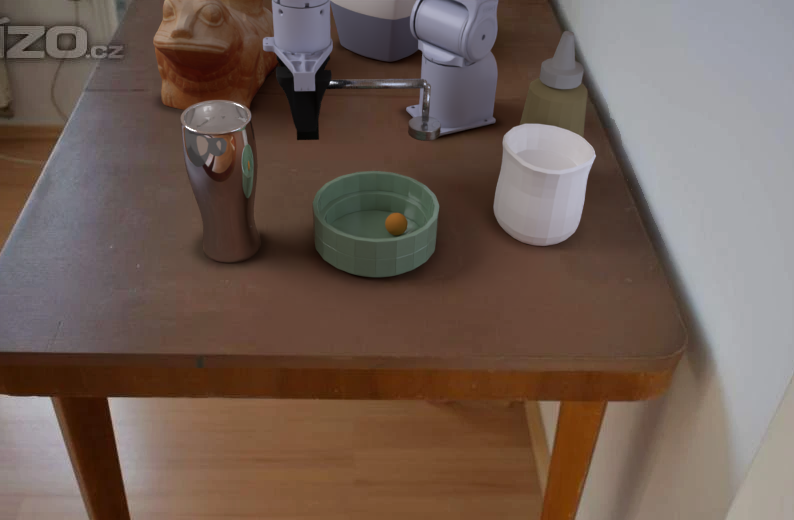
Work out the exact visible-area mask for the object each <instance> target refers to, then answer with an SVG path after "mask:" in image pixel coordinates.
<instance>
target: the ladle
mask: <svg viewBox="0 0 794 520" xmlns="http://www.w3.org/2000/svg"><path fill="white" fill-rule="evenodd" d="M420 88H424V89H423V104H422V116H417V117H414V118H413V117H412V118H410V119H409V120H408V125H407V126H408V130H407V133H408V135H409V136H410V137H411V138H412V139H413V140H417V141H423V142H428V141H429V142H430V141H434V140H437V139H438V138H440V137H441V136H440V130H441V123H440V121H439V120H437V119H436V118H433V117H429V109H430V95H431V85H430V84H429V83H428V82H427V80H425V79H421V78H358V79H357V78H356V79H355V78H354V79H352V78H350V79H349V78H347V79H346V78H345V79H343V78H342V79H339V78H338V79H336V78H335V79H331V81H330V84H329V86H328V87H327V89H326V90H401V89H402V90H404V89H405V90H407V89H408V90H409V89H411V90H412V89H419V90H420ZM319 119H320V118H319ZM319 119H318V124H317V128H316V131H314V132H297V131H296V140H297V141H319V140H320V123H319V122H320V121H319Z"/></svg>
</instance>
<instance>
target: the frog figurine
mask: <svg viewBox="0 0 794 520" xmlns="http://www.w3.org/2000/svg"><path fill="white" fill-rule="evenodd" d="M266 37H274V27H273V12H272V11H270V10H269V9H268V8H266V7H265V6H264V0H164V1H163V6H162V21H161V23H160V25H159V27H158V29H157V31H156V33H155V34H154V36H153V39H152V40H153V46H154V53H155V59H156V62H157V69H158V73H159V76H160V78H161V91H160V94H161V102H162V104H163V105H164V106H166V107H169V108H175V109H178V110H182V111H184V110H186V109H187V108H188V107H190V106H192V105H194V104H197V103H200V102H204V101H210V100H227V101H233V102H237V103H240V104H242V105H244V106H245V107H247V108H248V109H249V110H250V108H251V103H252V101H253V99H254V98H255V96H256V95H257V94H258V92H259V91H260V89H261V87H262V86H263V84H264V83H265V81H266V80H267V79H268V78H269V76H271V75H272V74H273V73H275V72H276V67H278V64H279V62H278V61H277V59H276V53H275V52H267V51H264V50H263V39H264V38H266Z"/></svg>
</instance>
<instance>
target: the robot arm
mask: <svg viewBox="0 0 794 520" xmlns="http://www.w3.org/2000/svg"><path fill="white" fill-rule="evenodd" d="M498 5H499V0H416V2H415V4H414V6H413V8H412V11H411V16H410V29H411V33H412V35H413V36H414V38H415V39H417V40H418V49H419V50H418V51H421V53H422V54H421V55H422V56H421V68H420V79H425V80H427V82H428V83H429V84H430V85H431V95H430V109H429V117H433V118H436V119H437V120H439V121H440V123H441V130H440V136H439V137H441V136H445V135H449V134H454V133H458V132H462V131H466V130H470V129H471V130H472V129H475V128H481V127H484V126H489V125H493V124H495V123H496V120H497V119H496V118H495V117H494V110H495V101H496V93H497V84H498V75H499V74H498V73H499V71H498V64H497V59H496V58H495V56H494V54H493V52H492V51H491V50H492V49H493V47H494V45H495V42H496V40H497V36H498V32H499V31H498V29H499V28H498V16H497V14H498V12H497V11H498ZM271 9H272V11H271V12H272V14H273V27H274V37H266V38H264V39H263V50H264V51H267V52H275V53H276V59H277V61H278V65H279V66H276V69H275V78H276V81H277V83H278V85H279V87H280V88H281V89H282V91H283V93H284V95H285V98H286V99H287V102H288V106H289V110H290V114H291V118H292V121H293V126H294V128H295V130H296V133H297V132H314V131H316V128H317V124H318V119H320V114H321V113H320V112H321V106H322V102H323V98H324V95H325V93H326V91H327V90H328V89H327V87H328V86H329V84H330V81H331V80H332V78H333V77H332V76H333V75H332V69H326V67H327V65H328V63H329V61H330V59H331V53H332V52H333V47H334V46H333V43H334V41H333V39H332V36H331V4H330V0H271ZM423 89H424V88H420V89H419V102H418V104H414V105H409V106H407V107H406V109H405V110H406V111H405V112H407V113H408V114H409V115H410V116H411V117H412V118H414V117H417V116H422V104H423Z"/></svg>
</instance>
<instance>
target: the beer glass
mask: <svg viewBox="0 0 794 520" xmlns="http://www.w3.org/2000/svg"><path fill="white" fill-rule="evenodd" d="M180 124H181V127H180V128H181V141H182V151H183V159H184V166H185V170H186V175H187V178H188V181H189V184H190V187H191V190H192V193H193V195H194V198H195V201H196V204H197V206H198V209H199V212H200V216H201V221H202V240H201V241H202V242H201V248H202V251H203V253H204V255H205V256H206V257H208V258H209V259H211V260H213V261H216V262H220V263H228V264H229V263H230V264H231V263H239V262H242V261H243V262H244V261H245V260H248V259H250V258H252V257H253V256H254V255H255V254H257V253H258V251H259V250H260V248H261V238H260V233H259V231H258V229H257V224H256V221H255V200H256V191H257V181H258V152H257V151H258V150H257V141H256V136H255V130H254V125H253V119H252V112H251V110H250V109H248V108H247V107H245V106H244V105H242V104H240V103H237V102H233V101H227V100H210V101H204V102H200V103H197V104H194V105H192V106H190V107H188V108H187V109H186V110H183V111H182V113H181V115H180Z"/></svg>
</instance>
